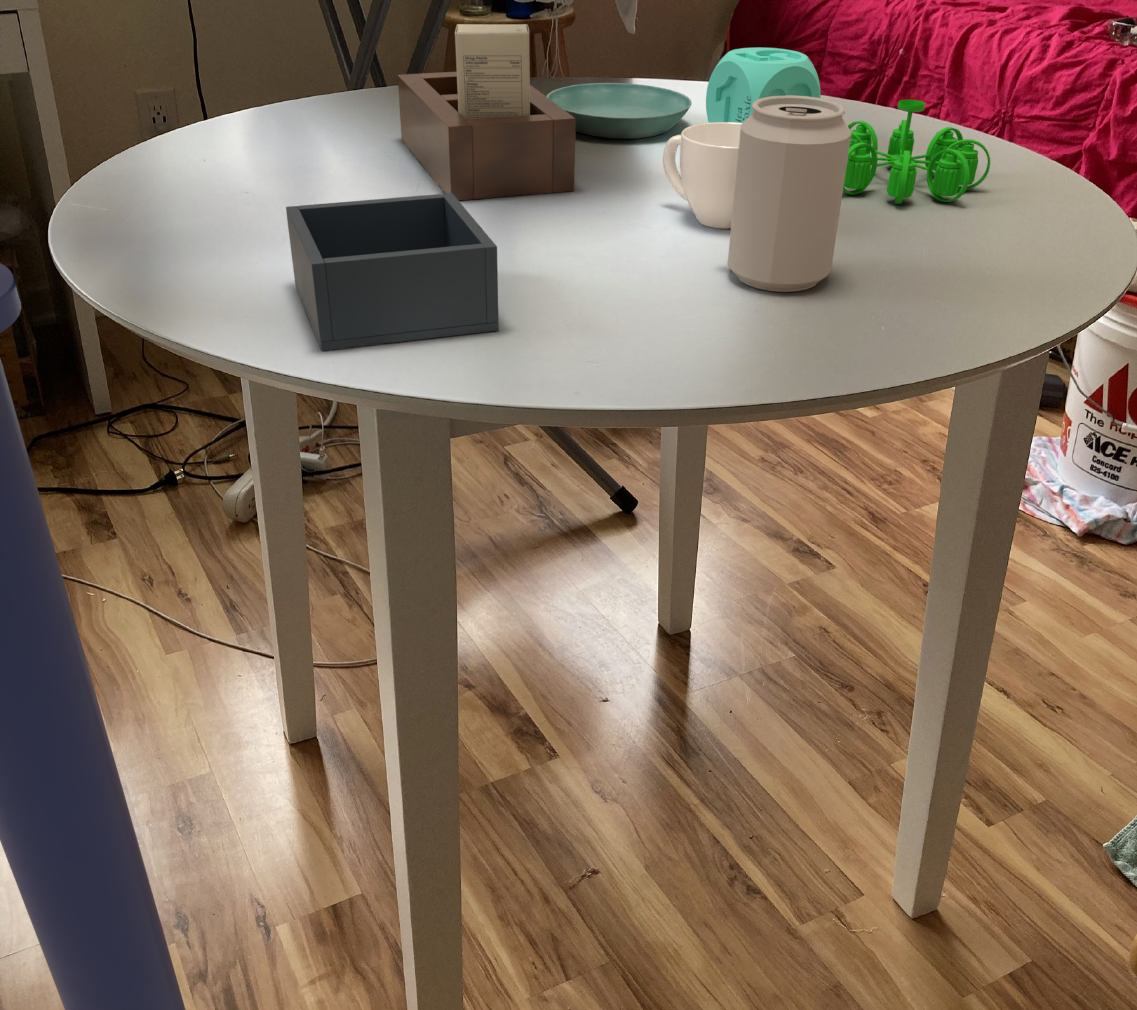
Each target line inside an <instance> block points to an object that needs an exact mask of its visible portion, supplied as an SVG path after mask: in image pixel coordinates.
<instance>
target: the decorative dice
mask: <svg viewBox="0 0 1137 1010" xmlns="http://www.w3.org/2000/svg"><path fill="white" fill-rule="evenodd" d="M707 83H708V84H707V88H706V92H705V93H706V94H705V111H706V118H707V123H714V122H731V123H743V122H744V121H745V120H746V119H747V118H748V117H749V116H750V115H751V114H752V113H753V112H754V110H753V109H752V103H753V102H755V101H756V100H758V99H761V98H765V97H772V96H790V95H792V96H808V97H816V98H821V97H822V95H821V93H822V92H821V83H820V79H819V75H818V73H817V70H816V68H815V66H814V64H813V62H812V61H811V59H810V58H809V56H807V55H806V54H805V53H803V52H800V51H795V50H791V49H785V48H777V47H742V48H735V49H732V50H729V51H728V52H726V54H724V56H723V57H721V59H720V60H719V61H718V63H717V65H716V66H715V67H714V69H713V70H712V72H711V75H710V78H709V80H708V82H707Z"/></svg>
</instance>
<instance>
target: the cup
mask: <svg viewBox="0 0 1137 1010" xmlns="http://www.w3.org/2000/svg"><path fill="white" fill-rule="evenodd" d="M741 124H742V123H731V122H714V123H709V122H703V123H697V124H694V125H690V126H687V127H685V128H684V129H683V130H682V131H681V134H676V135H673V136H672V137H670V138H669V139H668V140H667V141H666V144H665V146H664V149H663V156H662V165H663V170H664V173H665V175H666V178H667V180H668V182H669V184H670V185H671V187H672V188H673V190H674V191H675V192H676V193H677V195H678V196H679V197H680V198H682V199H683V200H685V201H687V203H688V205H689V207H690V209H691V212H692V213H693V215H694V216H695V218H696V220H697V221H698V223H699V224H701V225H703V226H706V227H709V228H713V229H714V228H715V229H725V230H728V229H729V230H731V223H732V213H733V202H734V192H735V182H736V171H737V161H738V151H739V141H740V130H741ZM679 146H680V147H679ZM678 148H679V170H678V167H677V163H676V154H677V150H678ZM679 172H680V173H679Z"/></svg>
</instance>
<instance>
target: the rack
mask: <svg viewBox="0 0 1137 1010" xmlns="http://www.w3.org/2000/svg"><path fill="white" fill-rule="evenodd" d="M397 85H398V86H397V88H398V105H399V117H400V118H399V121H400V134H401V142H402V143H403V144H404V145H405V147H406V148H407V149H408V150H409V151H410V153H411V154H412V156H413V157H415V159H416V160H417V161H418V163H419V164H420V165H421V166H422V167H423V169H424V170H425V171H426V172H427V174H429V176H430V177H431V178H432V179H433V180H434V182H435V183H436V184H437V185H438V187H439V188H440V189H441V190H442V191H443V194H448V193H453V195H454V196H455V197H456V198H457V199H458V201H469V200H482V199H493V198H505V197H507V198H508V197H517V196H528V195H530V196H531V195H541V194H551V193H552V194H553V193H563V192H575V174H576V172H575V171H576V170H575V169H576V131H575V124H576V119H575V118H574V117H573V116H571V115H570V114H569V113H567V112H566V111H565V110H563V109H562V108H561V107H559V106H558V105H557V104H555V103H554V102H553V101H551V100H550V99H549V98H547V95H545V94H543V93H542V92H540V91H539V90H538V89H537V88H535V86H533V85H531V84H530V115H528V116H512V117H497V118H481V119H467V120H466V119H464V118H463V117H462V116H461V115H460V114H459V113H458V90H457V71H444V72H425V73H424V72H422V73H405V74H397Z"/></svg>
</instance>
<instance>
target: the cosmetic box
mask: <svg viewBox="0 0 1137 1010" xmlns="http://www.w3.org/2000/svg"><path fill="white" fill-rule="evenodd" d="M454 43H455V46H454V47H455V64H456V65H455V66H456V72H457V90H458V113H459V114H460V115H461V116H462V117H463V118H464V119H466V120H467V119H481V118H497V117H512V116H528V115H530V85H531V71H530V64H531V63H530V28H529V25H528V24H527V23H525V24H524V23H522V24H519V23H518V24H515V23H514V24H512V23H511V24H509V23H508V24H505V23H501V24H499V23H498V24H495V23H494V24H493V23H492V24H490V23H489V24H488V23H487V24H484V23H482V24H481V23H477V24H475V23H471V24H469V23H468V24H465V23H457V24H456V26H455V30H454Z"/></svg>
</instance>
